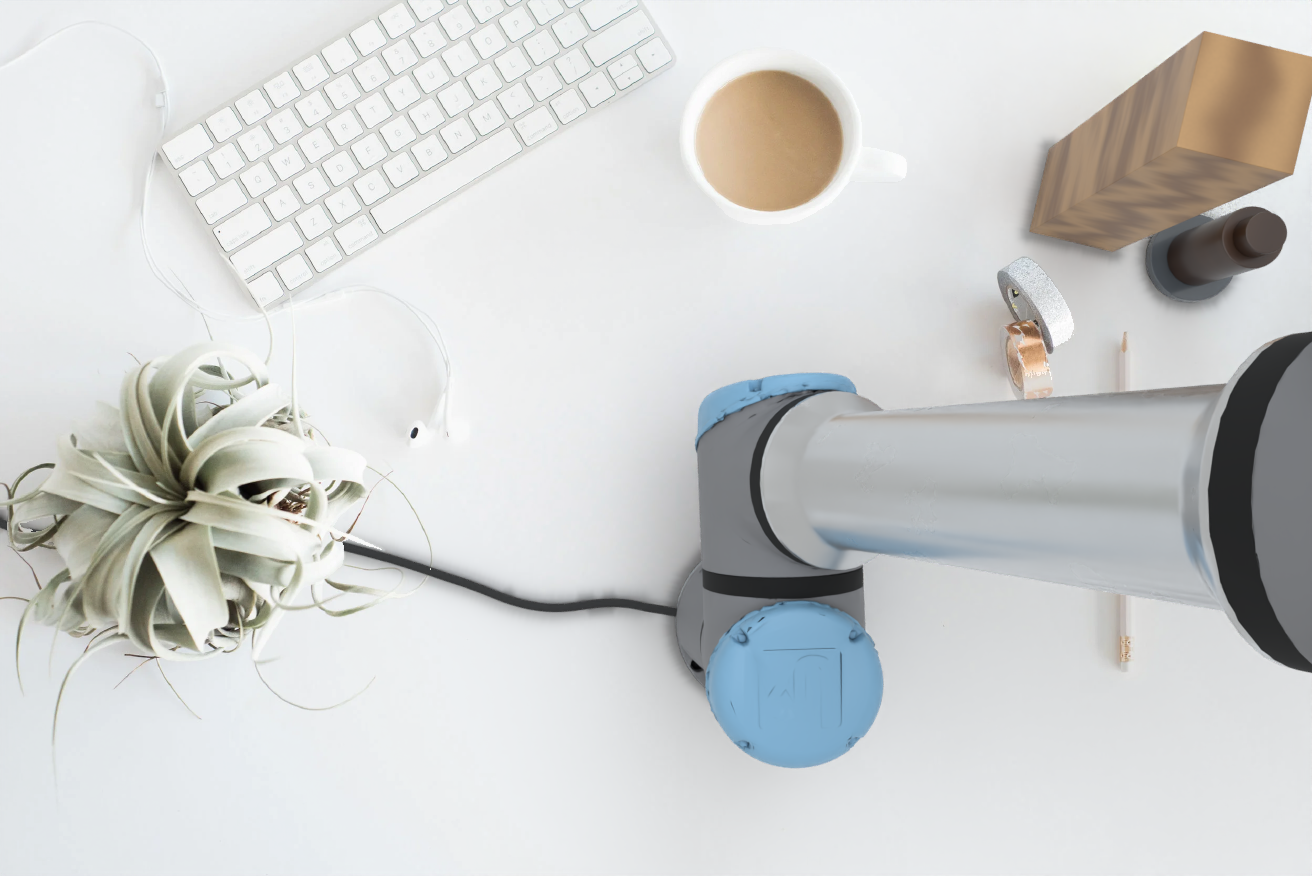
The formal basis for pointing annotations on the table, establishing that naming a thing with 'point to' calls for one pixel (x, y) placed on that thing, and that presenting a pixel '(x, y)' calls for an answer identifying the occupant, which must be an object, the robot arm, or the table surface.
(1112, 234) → the block
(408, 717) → the table surface
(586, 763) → the table surface
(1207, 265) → the pepper mill
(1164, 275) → the coaster
